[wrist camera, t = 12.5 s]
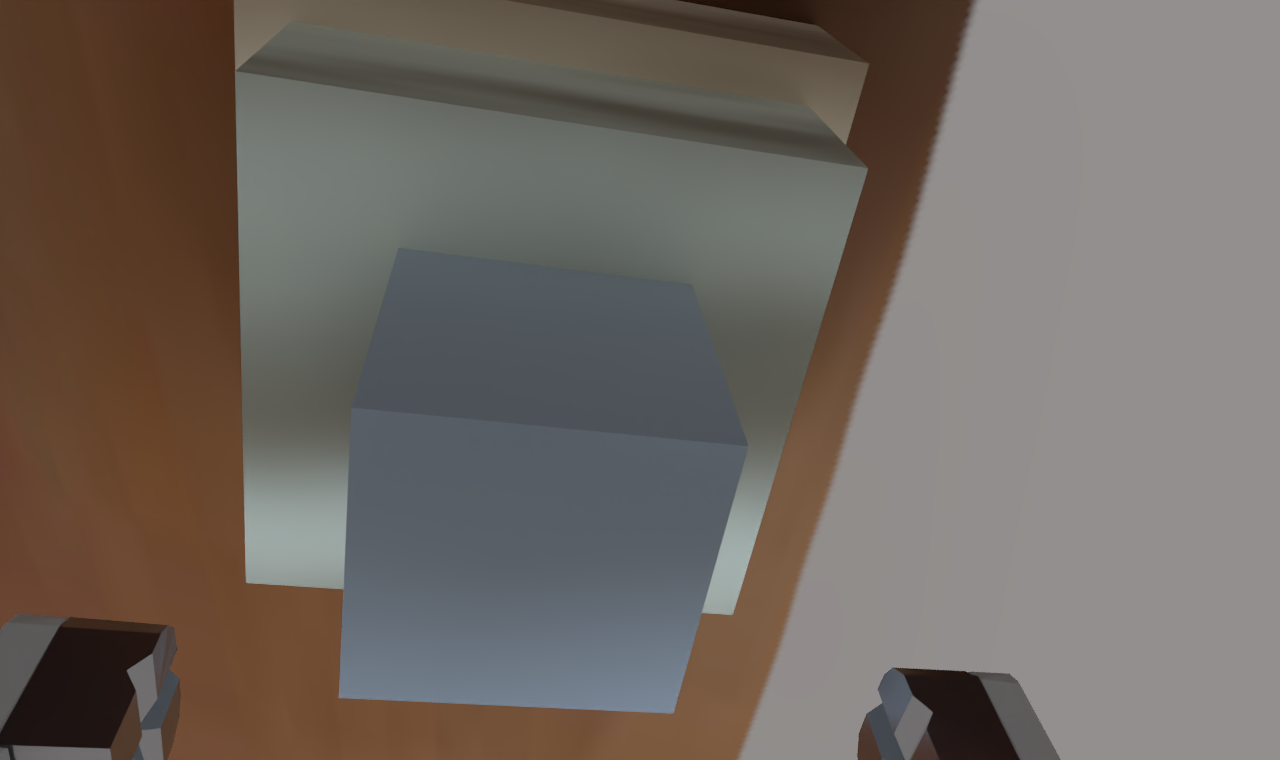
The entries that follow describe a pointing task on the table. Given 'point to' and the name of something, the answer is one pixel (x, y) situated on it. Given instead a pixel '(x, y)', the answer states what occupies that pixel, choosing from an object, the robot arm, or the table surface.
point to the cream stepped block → (524, 207)
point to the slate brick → (533, 488)
